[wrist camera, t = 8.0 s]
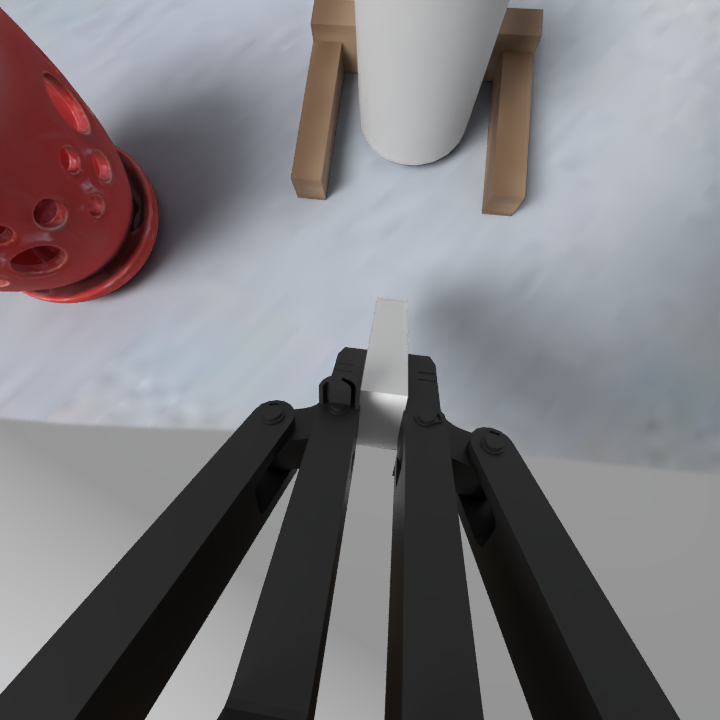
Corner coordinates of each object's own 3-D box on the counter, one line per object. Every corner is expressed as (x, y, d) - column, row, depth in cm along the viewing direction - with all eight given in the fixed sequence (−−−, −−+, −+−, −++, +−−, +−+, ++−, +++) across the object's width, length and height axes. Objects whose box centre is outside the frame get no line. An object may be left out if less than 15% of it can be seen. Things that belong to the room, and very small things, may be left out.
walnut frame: (521, 59, 23) (543, 9, 20) (511, 216, 22) (533, 186, 19) (322, 48, 24) (314, -2, 21) (298, 197, 23) (286, 166, 20)
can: (397, 66, 24) (421, -270, 12) (483, 113, 23) (601, -197, 11) (340, 142, 23) (305, -133, 11) (427, 193, 22) (488, -45, 10)
